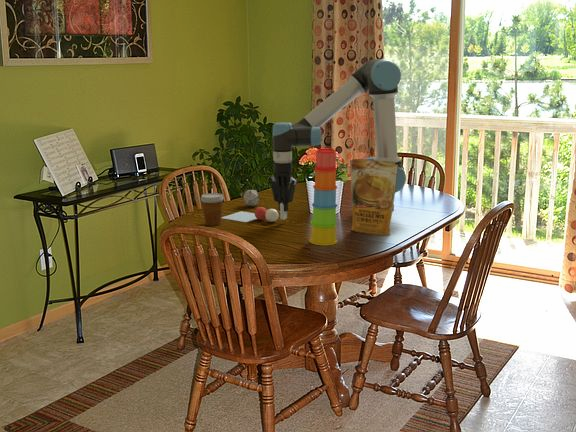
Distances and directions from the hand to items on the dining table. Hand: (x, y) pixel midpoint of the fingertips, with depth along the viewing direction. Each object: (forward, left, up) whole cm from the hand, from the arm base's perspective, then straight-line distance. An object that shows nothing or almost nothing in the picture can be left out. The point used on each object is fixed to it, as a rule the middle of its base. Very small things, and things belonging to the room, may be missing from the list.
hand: (283, 218), depth 290 cm
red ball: (+12, 0, +1) cm, 12 cm away
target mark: (+21, 0, -2) cm, 21 cm away
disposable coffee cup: (+24, +16, -2) cm, 29 cm away
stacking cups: (-29, +15, -2) cm, 33 cm away
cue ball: (+6, 0, +1) cm, 6 cm away
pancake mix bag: (-37, -7, -2) cm, 38 cm away
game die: (+31, -18, -2) cm, 36 cm away
